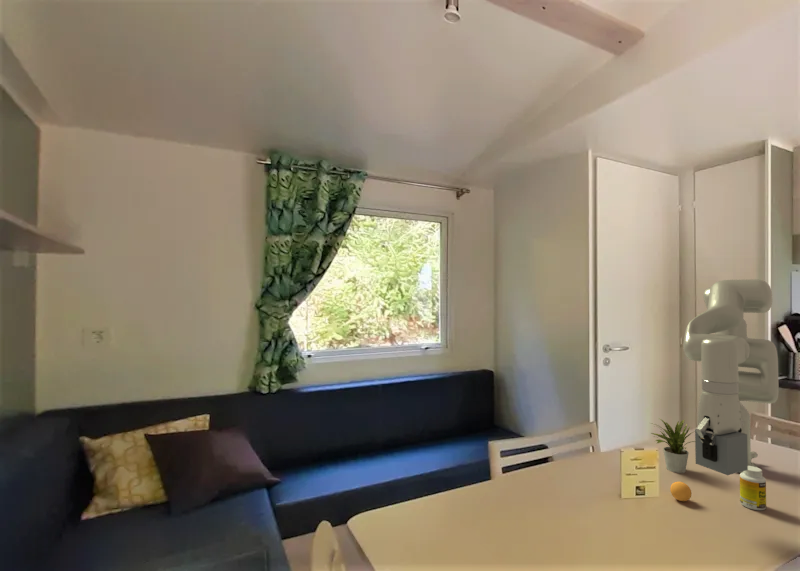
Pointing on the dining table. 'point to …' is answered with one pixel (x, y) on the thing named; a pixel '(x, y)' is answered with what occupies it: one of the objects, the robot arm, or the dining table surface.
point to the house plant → (675, 447)
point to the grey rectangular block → (725, 453)
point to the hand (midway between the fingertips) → (720, 456)
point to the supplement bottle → (753, 489)
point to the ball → (680, 491)
